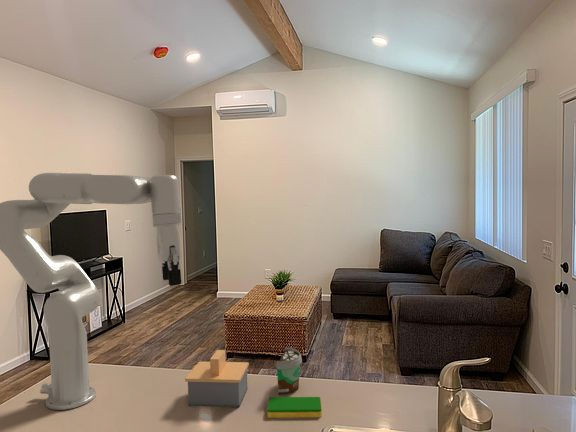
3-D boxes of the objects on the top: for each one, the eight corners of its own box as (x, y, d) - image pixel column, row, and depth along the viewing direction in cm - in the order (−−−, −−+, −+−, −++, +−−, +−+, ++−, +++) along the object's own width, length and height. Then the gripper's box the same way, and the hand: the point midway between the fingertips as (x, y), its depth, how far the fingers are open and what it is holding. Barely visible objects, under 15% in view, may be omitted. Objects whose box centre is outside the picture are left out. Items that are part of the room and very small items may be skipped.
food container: (298, 398, 119) (297, 363, 119) (277, 397, 120) (276, 362, 120) (305, 379, 131) (305, 347, 131) (286, 378, 132) (285, 346, 132)
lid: (185, 385, 116) (184, 362, 115) (199, 368, 128) (198, 346, 127) (239, 387, 114) (239, 363, 114) (249, 369, 126) (248, 347, 126)
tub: (188, 406, 116) (187, 380, 116) (201, 387, 127) (200, 364, 127) (239, 407, 115) (238, 382, 115) (247, 389, 126) (246, 365, 125)
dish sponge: (321, 419, 109) (321, 409, 109) (267, 419, 109) (267, 410, 109) (320, 405, 116) (320, 396, 116) (269, 405, 116) (269, 396, 116)
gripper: (148, 220, 124) (153, 279, 124) (157, 222, 108) (163, 289, 109) (175, 218, 127) (179, 275, 128) (187, 219, 111) (192, 285, 112)
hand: (172, 282), depth 118 cm, fingers open, 9 cm apart
